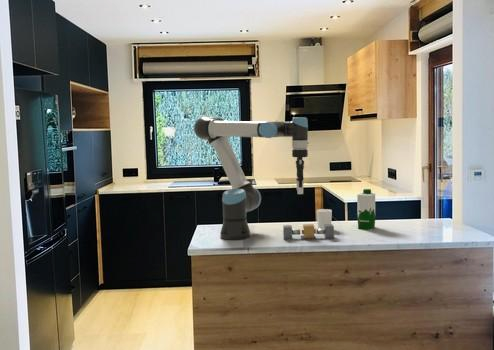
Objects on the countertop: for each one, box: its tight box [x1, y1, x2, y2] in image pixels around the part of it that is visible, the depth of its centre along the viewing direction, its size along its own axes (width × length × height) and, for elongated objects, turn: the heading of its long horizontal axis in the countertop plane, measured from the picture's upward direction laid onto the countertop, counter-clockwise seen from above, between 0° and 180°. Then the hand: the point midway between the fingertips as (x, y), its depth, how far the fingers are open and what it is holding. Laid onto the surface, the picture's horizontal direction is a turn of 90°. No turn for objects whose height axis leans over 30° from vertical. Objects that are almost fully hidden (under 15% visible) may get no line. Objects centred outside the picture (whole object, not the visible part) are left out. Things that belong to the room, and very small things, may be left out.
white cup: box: [316, 208, 333, 229], centre depth 253 cm, size 8×8×10 cm
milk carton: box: [356, 188, 376, 230], centre depth 252 cm, size 9×9×20 cm
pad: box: [300, 235, 317, 241], centre depth 235 cm, size 7×7×1 cm
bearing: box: [282, 224, 301, 241], centre depth 235 cm, size 8×5×6 cm, turn 87°
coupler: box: [301, 223, 317, 239], centre depth 235 cm, size 7×5×6 cm
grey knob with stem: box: [315, 223, 335, 240], centre depth 234 cm, size 8×5×6 cm, turn 87°
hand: (299, 192), depth 238 cm, fingers open, 13 cm apart
